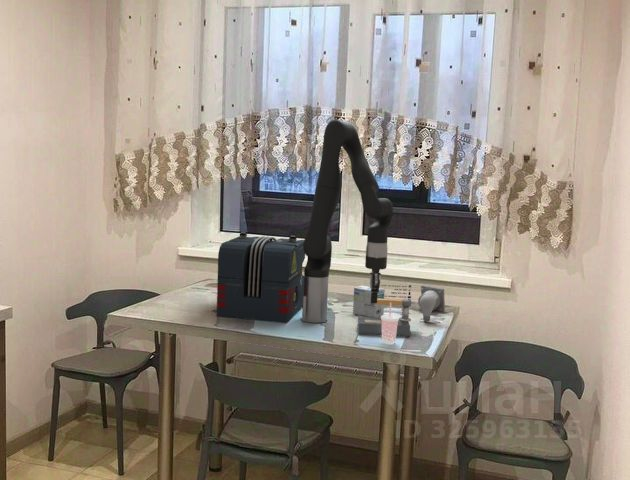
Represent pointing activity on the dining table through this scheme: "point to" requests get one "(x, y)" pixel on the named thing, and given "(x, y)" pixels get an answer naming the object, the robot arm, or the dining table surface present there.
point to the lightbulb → (427, 306)
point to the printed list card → (434, 291)
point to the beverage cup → (389, 328)
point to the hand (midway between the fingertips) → (373, 302)
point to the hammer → (393, 302)
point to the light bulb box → (367, 302)
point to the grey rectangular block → (375, 324)
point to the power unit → (260, 278)
